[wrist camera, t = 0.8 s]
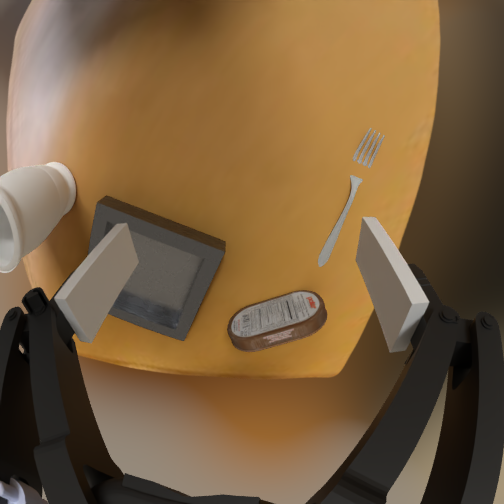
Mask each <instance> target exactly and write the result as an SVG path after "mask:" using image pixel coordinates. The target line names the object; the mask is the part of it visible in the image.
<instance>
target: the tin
mask: <svg viewBox="0 0 504 504" xmlns="http://www.w3.org/2000/svg"><path fill="white" fill-rule="evenodd" d="M326 320H327V311H326V309H325V305H324V301H323V299H322V298H321V297H320V296H319V295H318V294H317V293H315V292H312V291H306V290H302V291H295V292H291V293H288V294H285V295H282V296H279V297H275V298H272V299H269V300H265V301H262V302H259V303H255V304H252V305H249V306H246V307H244V308H242V309H241V310H239V311H238V312H236V313H235V314H234V315H233V316H232V318H231V319H230V321H229V324H228V328H227V330H228V334H229V336H230V338H231V340H232V343H233V345H234V346H235V347H236V348H237V349H239V350H241V351H245V352H255V351H259V350H263V349H267V348H271V347H274V346H278V345H281V344H285V343H288V342H292V341H295V340H299V339H302V338H305V337H308V336H310V335H312V334H314V333H316V332H317V331H318V330H320V329H321V328H322V326H323V325H324V324H325V322H326Z"/></svg>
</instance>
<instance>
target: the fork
mask: <svg viewBox="0 0 504 504" xmlns="http://www.w3.org/2000/svg"><path fill="white" fill-rule="evenodd" d="M371 129H372V128H370V129H369V131H368V132H367V134H366V135H365V137H364V138H363V140H362V142H361V144H360V145H359V147H358V149H357V151H356V152H355V154H354V157H353V161H355V160H356V157H357V155H358V153H359V151H360V149H361V147H362V146H363V144H364V142H365V140H366V138H367V136H368V135H369V133H370V131H371ZM375 132H376V130H375V131H374V132H373V134H372V135H371V137H370V138H369V140H368V142H367V144H366V146H365V148H364V149H363V151H362V153H361V155H360V157H359V159H358V160H357V162H358V163H361V162H362V158H363V156H364V154H365V152H366V150H367V148H368V146H369V144H370V142H371V140H372V138H373V136H374V134H375ZM379 136H380V133H379V134H378V136H377V137H376V139H375V140H374V142H373V144H372V146H371V148H370V150H369V152H368V154H367V156H366V158H365V160H364V162H363V165H364V166H366V165H367V161H368V158H369V156H370V154H371V152H372V150H373V148H374V146H375V144H376V142H377V140H378V138H379ZM383 139H384V135H383V137H382V139H381V140H380V142H379V143H378V145H377V148H376V150H375V152H374V154H373V156H372V158H371V160H370V163H369V165H368V167H369V168H370V167H371V165H372V163H373V160H374V158H375V156H376V154H377V151H378V149H379V147H380V145H381V143H382V141H383ZM350 179H351V186H352V188H351V193H350V197H349V200H348V202H347V204H346V206H345V208H344V210H343V212H342V214H341V216H340V218H339V220H338V221H337V223H336V225H335V227H334V229H333V230H332V232H331V234H330V236H329V237H328V239H327V241H326V243H325V245H324V247H323V249H322V251H321V253H320V256H319V259H318V265H319V267H321V266H323V265H324V264H325V263H326V262H327V260H328V259H329V257H330V254H331V252H332V249H333V247H334V245H335V242H336V240H337V237H338V235H339V232H340V230H341V227H342V225H343V222H344V220H345V217H346V215H347V213H348V211H349V208H350V206H351V204H352V201H353V199H354V196H355V193H356V190H357V188H358V186H359V184H360V183H361V182H362V181H363V180H362V179H360V178H358V177H355V176H352V175H350Z"/></svg>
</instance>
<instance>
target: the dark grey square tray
mask: <svg viewBox="0 0 504 504" xmlns="http://www.w3.org/2000/svg"><path fill="white" fill-rule="evenodd" d="M123 223H127V224H128V228H129V231H130V235H131V238H132V242H133V245H134V248H135V251H136V254H137V258H138V261H139V263H138V265H137V266H136V268H135V269H134V271H133V272H132V274H131V276H130V277H129V279H128V280H127V282H126V284H125V285H124V287H123V289H122V290H121V292H120V294H119V295H118V297H117V299H116V300H115V302H114V304H113V305H112V307H111V309H110V311H109V312H108V314H110V315H112V316H115V317H117V318H120V319H122V320H125V321H127V322H130V323H133V324H135V325H138V326H141V327H143V328H146V329H149V330H152V331H155V332H157V333H160V334H163V335H166V336H169V337H172V338H175V339H178V340H181V341H184V340H185V338H186V335H187V333H188V331H189V329H190V327H191V324H192V322H193V320H194V318H195V315H196V313H197V311H198V309H199V307H200V305H201V302H202V300H203V298H204V296H205V294H206V292H207V289H208V287H209V285H210V283H211V281H212V279H213V277H214V274H215V272H216V270H217V268H218V266H219V264H220V262H221V260H222V257H223V255H224V253H225V241H223V240H220V239H218V238H215V237H212V236H210V235H207V234H205V233H202V232H199V231H197V230H194V229H192V228H189V227H187V226H184V225H181V224H179V223H176V222H174V221H171V220H169V219H166V218H163V217H161V216H158V215H156V214H153V213H150V212H148V211H145V210H143V209H140V208H138V207H135V206H132V205H130V204H127V203H125V202H122V201H119V200H117V199H114V198H112V197H109V196H107V195H106V196H105V197H104V198H102V199H101V200H100V201H98V202H97V205H96V210H95V215H94V220H93V226H92V232H91V238H90V244H89V251H88V255H89V254H90V253H91V252H92V250H93V249H94V248H95V247H96V246H97V245H98V244H99V243H100V241H101V240H102V239H103V238H104V237H105V236H106V235H107V234H108V233H109V232H110V231H111V229H112V228H113V227H114V226H115V225H116V224H123Z"/></svg>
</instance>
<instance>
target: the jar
mask: <svg viewBox="0 0 504 504" xmlns="http://www.w3.org/2000/svg"><path fill="white" fill-rule="evenodd" d="M75 198H76V185H75V181H74V178H73V175H72V174H71V172H70V170H69V169H68V168H67V167H66V166H65V165H63V164H61V163H58V162H50V163H48V164H46V165H34V166H28V167H21V168H17V169H14V170H11V171H9V172H7V173H5V174H4V175H2V176H0V272H2V273H8V272H11V271H12V270H13V269H14V268H15V267H17V265H18V264H19V263H20V261H21V258H22V257H24V256H25V255H27V254H29V253H30V252H32V251H33V250H34V249H36V248H37V247H38V246H39V245H40V244H41V243H42V242H43V241H44V240H45V239H46V238H47V237H48V235H49V234H50V233H51V232H52V230H53V229H54V227H55V226H56V225H57V224H58V223H59V221H60V220H61V218H62V216H63V215H65V214H66V213H68V212H69V211H70V210H71V208H72V206H73V204H74V202H75Z"/></svg>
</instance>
